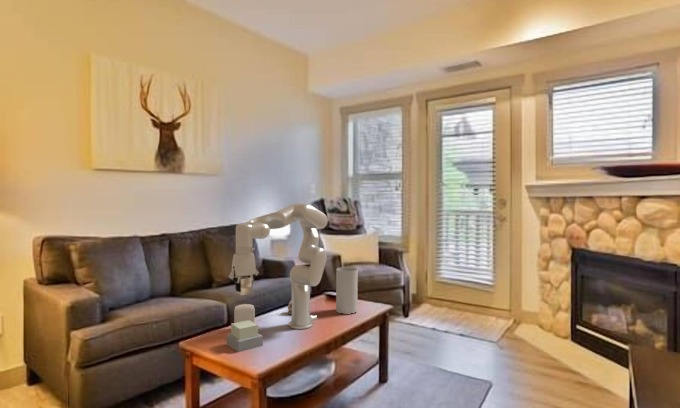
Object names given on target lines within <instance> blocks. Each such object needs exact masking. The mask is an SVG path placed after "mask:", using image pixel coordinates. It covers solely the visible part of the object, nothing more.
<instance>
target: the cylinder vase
mask: <svg viewBox="0 0 680 408" xmlns="http://www.w3.org/2000/svg"><path fill="white" fill-rule="evenodd" d="M335 274H336V276H335V277H336V281H335V282H336V283H335V284H336V287H335V289H336V292H335V293H336V294H335V295H336V296H335V311H336V312H337V313H338V314H341V313H343V314H342V315H352V314H351V313H353V314H356V313H357V312H358V289H359V288H358V284H359V283H358V278H359V277H358V276H359V269H358V268H355V267H344V266H343V267H337V268H336V273H335ZM355 312H356V313H355Z"/></svg>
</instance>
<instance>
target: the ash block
mask: <svg viewBox="0 0 680 408" xmlns="http://www.w3.org/2000/svg"><path fill="white" fill-rule="evenodd" d="M240 284H241V291H240V292H238V291H236V290H235V291H236V294H238V295H240V296H245V295H251V294H252V293H253V291H252V290H253V281H252V278H249V277H248V276H241V278H240Z"/></svg>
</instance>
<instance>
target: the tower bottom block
mask: <svg viewBox="0 0 680 408" xmlns="http://www.w3.org/2000/svg"><path fill="white" fill-rule="evenodd" d="M226 345H227V346H229V347H230V348H232V349H233V350H235V351H236V352H238V353H241V352H244V351H250V350H252V349H256V348H261V347H263V346H264V335H262V334H260V333H258V336H255V337H251V338H246V339H242V340H239V339H237V338H236V337H234V336H233V335H231V333H227V334H226Z"/></svg>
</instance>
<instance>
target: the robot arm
mask: <svg viewBox="0 0 680 408" xmlns="http://www.w3.org/2000/svg"><path fill="white" fill-rule="evenodd" d="M296 221H298V222H299V224H300V226H301V229H302V231H303V238H302V241H301V245H300V248H299V250H298V251H299V252H298V256H297V258H298V261H299V262H300V263H301V264H307V265H309V266H307V265H300V264H299V265H294V266H293V267H292V268H291V269H290V271H289V279H290V284H291V300H292V314H291V320H290V321H289V322H288V327H289V328H291V329H294V330H304V329H305V330H306V329H310V328H311V327H312V326H313V320H317V318H318V317H317V315H311V313H310V312H311V311H310V310H311V292H310V291H311V289H310V287H316V286H318V285H319V284H320V282H321V280H322V277H323V274H324V271H325V266H326V263H327V252H326V250H325V249H324V248H322V247H319V246H318V245H319V242H320V241H319V240H320V234H319V232H318V230H322V229H325V227H327V225H328V222H329V221H328V216H327V215H326V214H325V213H324V212H322V211H321V210H319V209H318V208H316V207H315V206H313V205H311V204H308V203H292V204H290V205H288V206H286V207H283V208H282V209H279V210H277V211H275V212H270V213H268V214H263V215H261V216H257V217H255V218H252V219H249V220H247V221H246V222H245V223H237V224H236V225H235V253H234V254H233V256H232V261H231V262H232V263H231V270H230V273H229V275H228V278H230V279H231V280H232V281H233V282H234V285H235V291H238V292H240V291H241V284H240V278H241V277H249V278H252V282H254V280H255V279H256V277H257V276H258V275H259V274H260V272H259V270H258V269H257V268H256V257H255V254H254V251H256V247H254V245H253V244H254V242H253V241H254V240H253V239H257V240H264V239H266V238H268V236H269V235H270V232H271V230H274V229H275V230H277V229H283V228H285V227H287V226H289V225H291V224H293V223H295V222H296Z"/></svg>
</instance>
